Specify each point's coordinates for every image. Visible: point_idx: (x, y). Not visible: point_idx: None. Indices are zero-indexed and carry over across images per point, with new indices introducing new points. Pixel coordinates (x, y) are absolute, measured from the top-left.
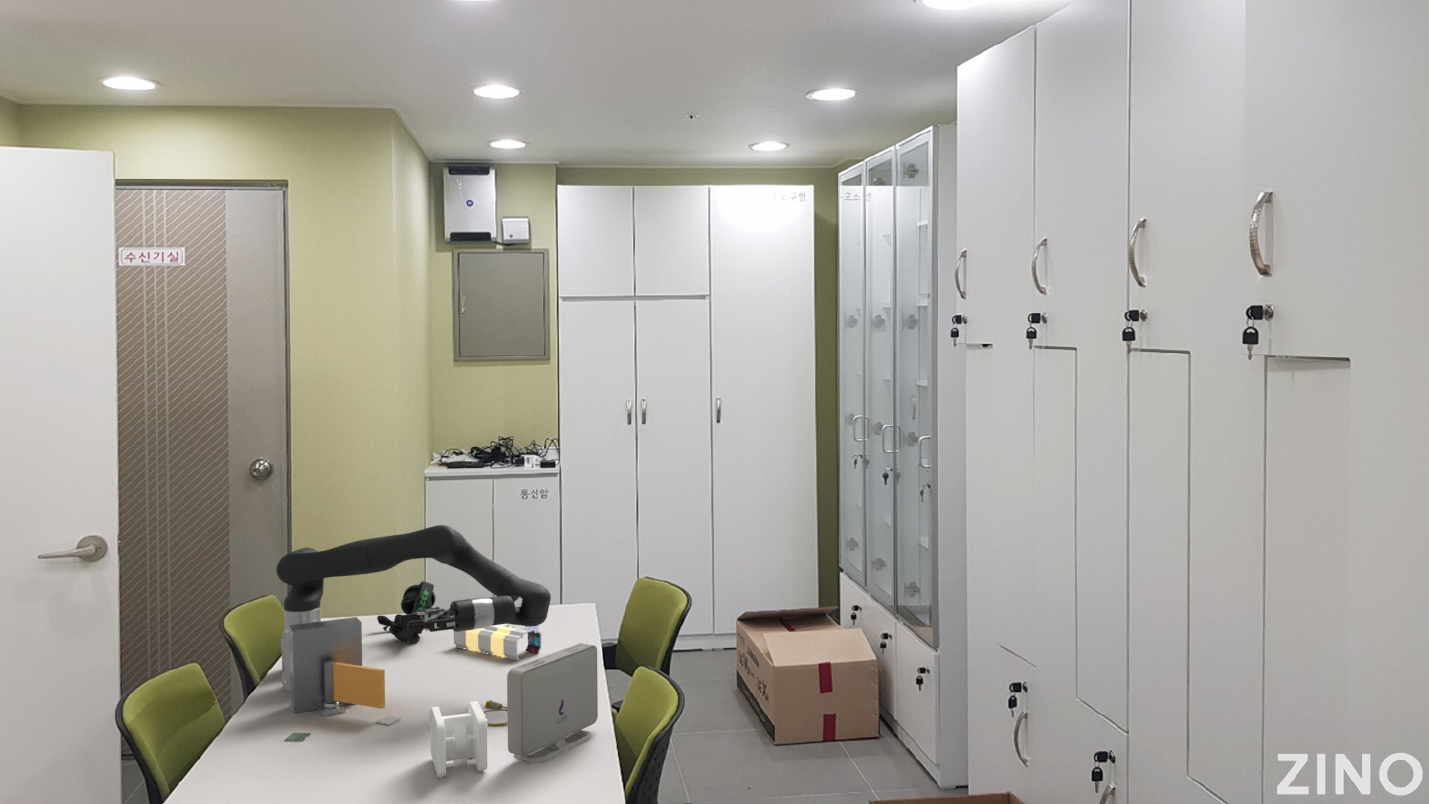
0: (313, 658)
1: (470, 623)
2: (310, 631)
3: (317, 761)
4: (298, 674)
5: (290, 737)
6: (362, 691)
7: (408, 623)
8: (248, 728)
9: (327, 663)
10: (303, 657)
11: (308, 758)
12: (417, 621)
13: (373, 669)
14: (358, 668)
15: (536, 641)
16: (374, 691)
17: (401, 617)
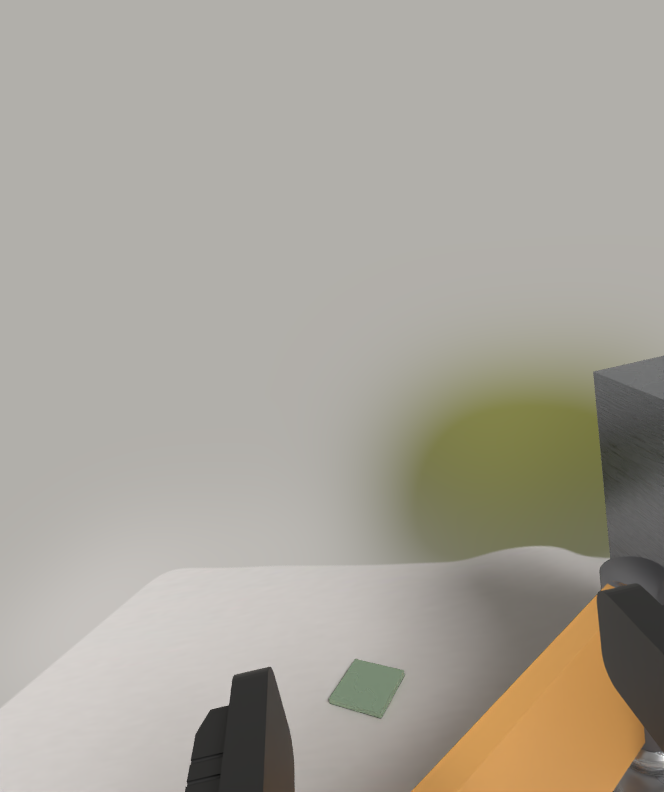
0: (647, 516)
1: None
2: (634, 398)
3: (132, 759)
4: (617, 539)
5: (361, 669)
6: None
7: (235, 677)
8: (492, 581)
9: (609, 566)
10: (623, 489)
11: (175, 733)
12: (222, 763)
13: (452, 755)
14: (516, 685)
15: None
16: None
17: (603, 606)
